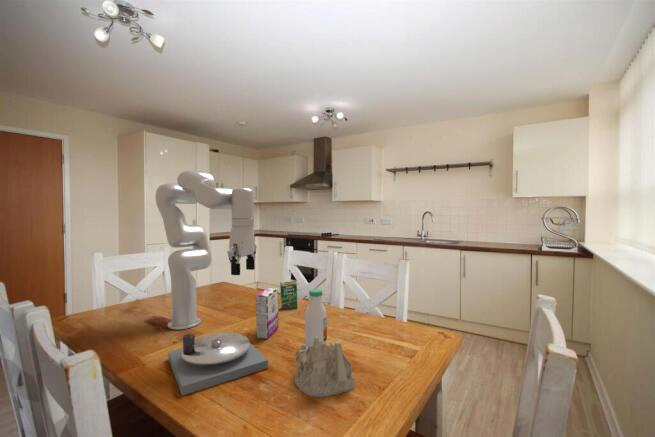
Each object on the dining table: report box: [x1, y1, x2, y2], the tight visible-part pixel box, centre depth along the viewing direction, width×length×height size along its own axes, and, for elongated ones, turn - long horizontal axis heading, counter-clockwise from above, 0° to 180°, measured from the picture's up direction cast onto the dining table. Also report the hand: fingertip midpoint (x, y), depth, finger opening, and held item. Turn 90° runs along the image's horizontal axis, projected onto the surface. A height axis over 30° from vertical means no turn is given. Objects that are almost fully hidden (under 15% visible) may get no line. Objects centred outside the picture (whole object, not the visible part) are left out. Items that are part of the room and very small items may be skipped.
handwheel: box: [181, 332, 250, 366], centre depth 96 cm, size 20×20×7 cm
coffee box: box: [279, 280, 298, 311], centre depth 150 cm, size 8×3×13 cm, turn 103°
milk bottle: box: [304, 288, 328, 347], centre depth 107 cm, size 8×8×20 cm
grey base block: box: [167, 341, 269, 397], centre depth 96 cm, size 24×24×4 cm
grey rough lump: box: [294, 336, 356, 398], centre depth 87 cm, size 16×16×15 cm
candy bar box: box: [255, 287, 279, 340], centre depth 119 cm, size 11×5×16 cm, turn 168°
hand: (243, 272), depth 107 cm, fingers open, 9 cm apart
